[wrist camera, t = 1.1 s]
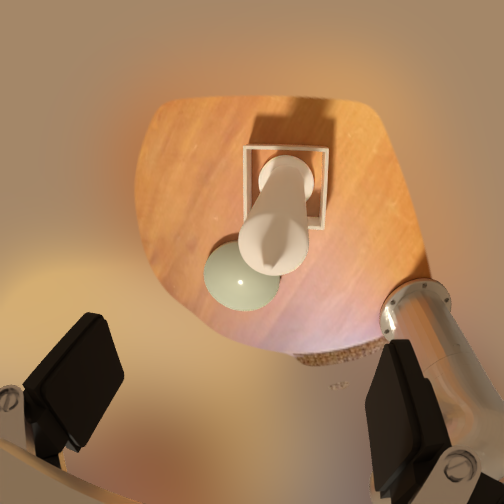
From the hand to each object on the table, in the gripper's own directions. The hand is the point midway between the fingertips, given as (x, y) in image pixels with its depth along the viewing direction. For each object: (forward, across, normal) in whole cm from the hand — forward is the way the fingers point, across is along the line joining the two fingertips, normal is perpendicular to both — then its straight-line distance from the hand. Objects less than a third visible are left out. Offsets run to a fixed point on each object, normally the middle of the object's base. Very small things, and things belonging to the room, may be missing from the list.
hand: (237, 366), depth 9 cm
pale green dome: (+33, +6, +14) cm, 36 cm away
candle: (+33, 0, 0) cm, 33 cm away
